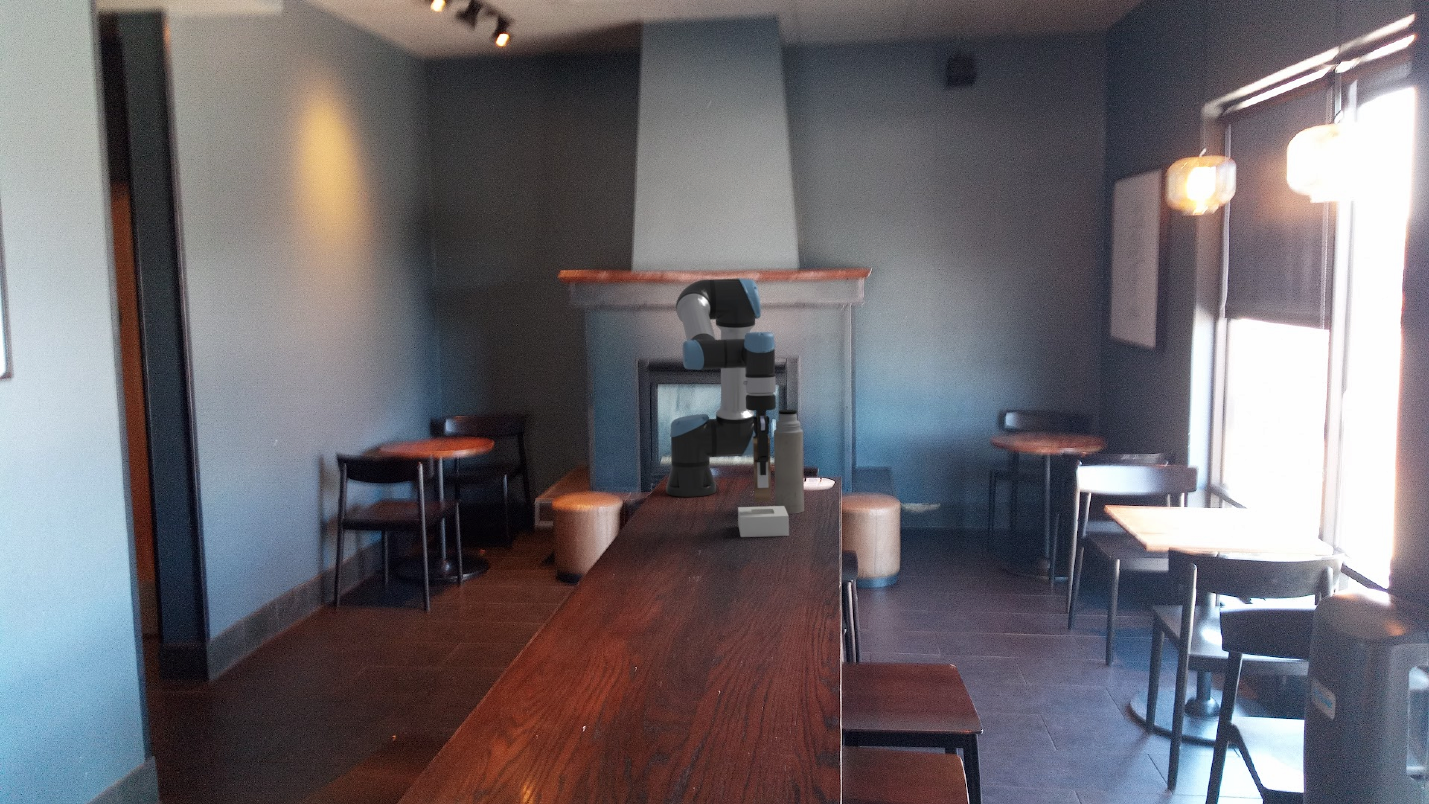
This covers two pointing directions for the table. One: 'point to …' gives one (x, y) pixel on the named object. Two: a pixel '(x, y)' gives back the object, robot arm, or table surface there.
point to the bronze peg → (759, 493)
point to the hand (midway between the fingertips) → (762, 485)
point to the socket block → (763, 521)
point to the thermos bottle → (789, 462)
